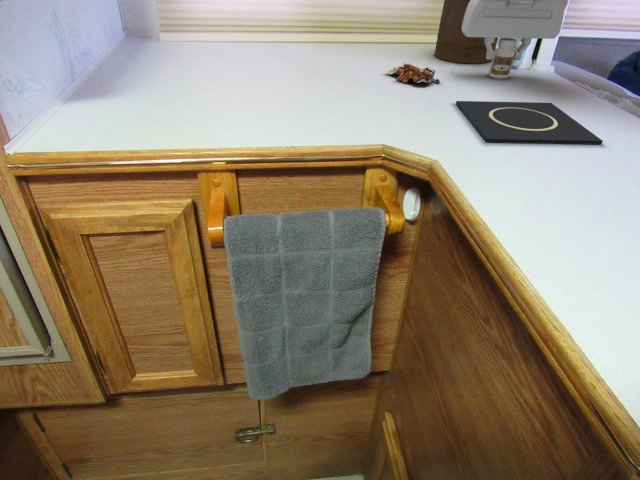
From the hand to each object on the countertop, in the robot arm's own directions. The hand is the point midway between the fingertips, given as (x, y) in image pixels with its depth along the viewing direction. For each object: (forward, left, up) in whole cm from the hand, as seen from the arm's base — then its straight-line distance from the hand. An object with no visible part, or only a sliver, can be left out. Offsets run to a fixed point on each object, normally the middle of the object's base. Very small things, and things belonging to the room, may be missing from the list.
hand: (502, 59), depth 94 cm
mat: (+6, +29, -4) cm, 30 cm away
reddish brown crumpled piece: (+21, +4, -4) cm, 22 cm away
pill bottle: (0, 0, -4) cm, 4 cm away
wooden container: (+3, -18, -4) cm, 19 cm away
